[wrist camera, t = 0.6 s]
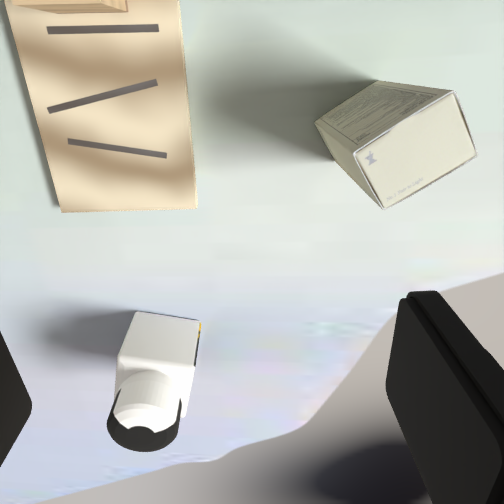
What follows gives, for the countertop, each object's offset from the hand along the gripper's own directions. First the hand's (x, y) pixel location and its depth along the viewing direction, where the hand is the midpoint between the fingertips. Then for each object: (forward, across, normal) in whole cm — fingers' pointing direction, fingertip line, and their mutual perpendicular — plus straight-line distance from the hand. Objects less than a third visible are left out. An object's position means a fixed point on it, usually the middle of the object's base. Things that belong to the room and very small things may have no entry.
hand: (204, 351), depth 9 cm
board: (+26, +9, -6) cm, 28 cm away
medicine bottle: (+27, +9, +22) cm, 36 cm away
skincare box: (+27, -11, 0) cm, 29 cm away
